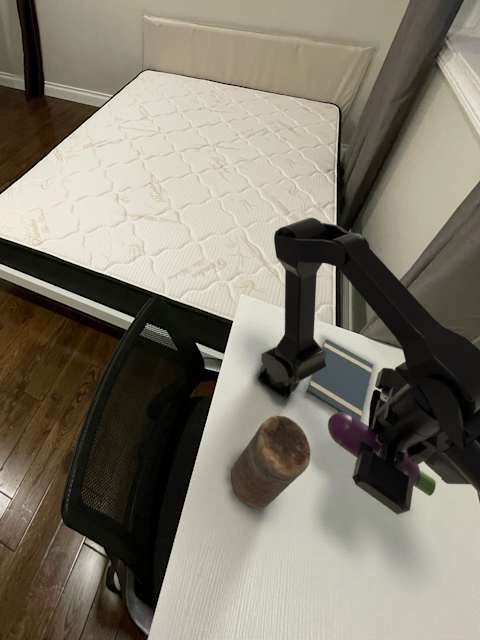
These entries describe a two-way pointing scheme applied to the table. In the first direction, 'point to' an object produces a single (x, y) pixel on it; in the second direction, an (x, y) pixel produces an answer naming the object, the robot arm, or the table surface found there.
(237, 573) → the table surface
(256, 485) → the brown textured cylinder
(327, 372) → the towel
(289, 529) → the table surface
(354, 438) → the eggplant
